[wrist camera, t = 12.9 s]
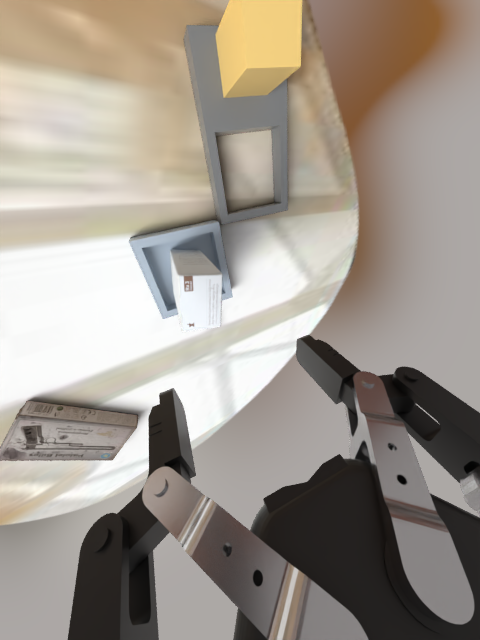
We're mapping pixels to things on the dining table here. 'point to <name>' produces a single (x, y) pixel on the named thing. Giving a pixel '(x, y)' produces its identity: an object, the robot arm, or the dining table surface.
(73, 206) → the dining table surface
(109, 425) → the box
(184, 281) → the skincare box
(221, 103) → the block
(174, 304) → the tray
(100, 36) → the dining table surface
